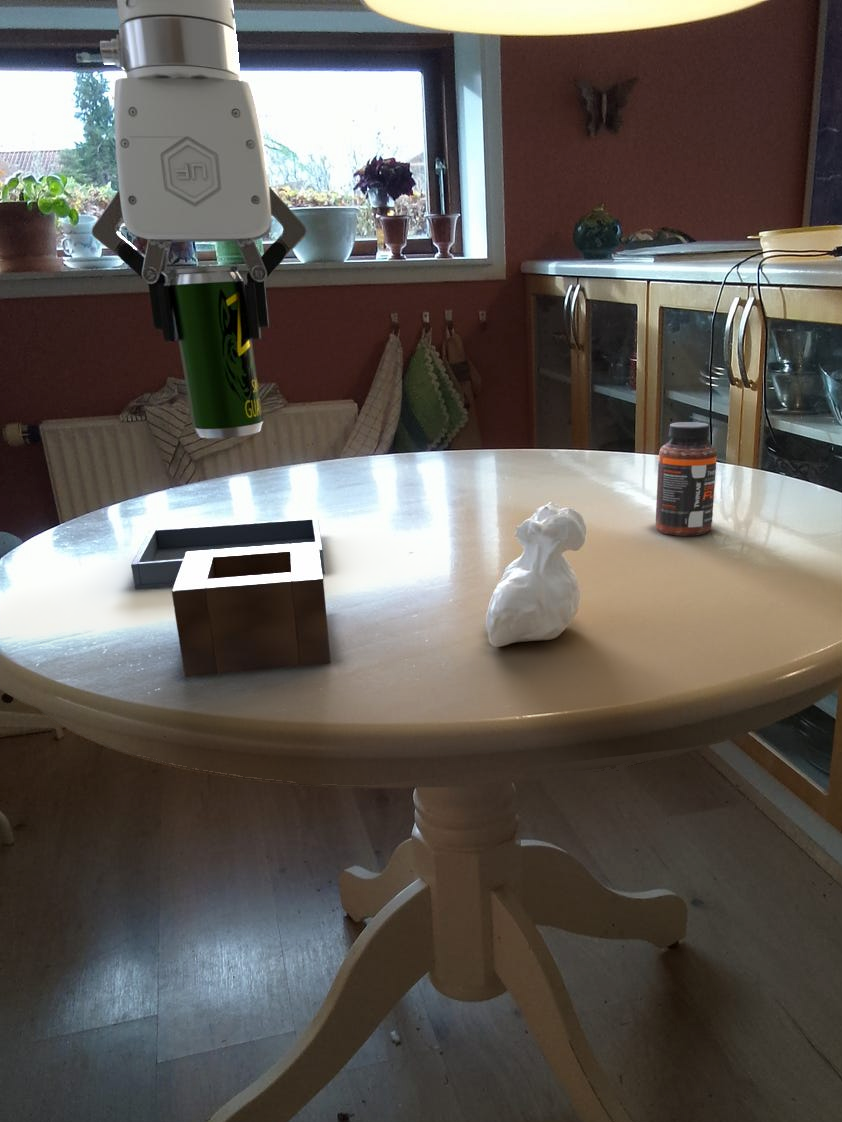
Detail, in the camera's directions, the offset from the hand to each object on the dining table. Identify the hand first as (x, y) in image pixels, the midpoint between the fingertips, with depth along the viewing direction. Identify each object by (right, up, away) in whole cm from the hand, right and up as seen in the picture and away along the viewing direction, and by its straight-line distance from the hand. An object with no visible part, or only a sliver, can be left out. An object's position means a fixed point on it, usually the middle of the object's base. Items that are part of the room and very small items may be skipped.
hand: (214, 337), depth 70 cm
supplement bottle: (+42, -11, +29) cm, 53 cm away
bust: (+25, -23, +2) cm, 33 cm away
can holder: (+3, -23, +1) cm, 24 cm away
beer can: (0, -7, +3) cm, 7 cm away
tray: (-4, -15, +22) cm, 27 cm away
